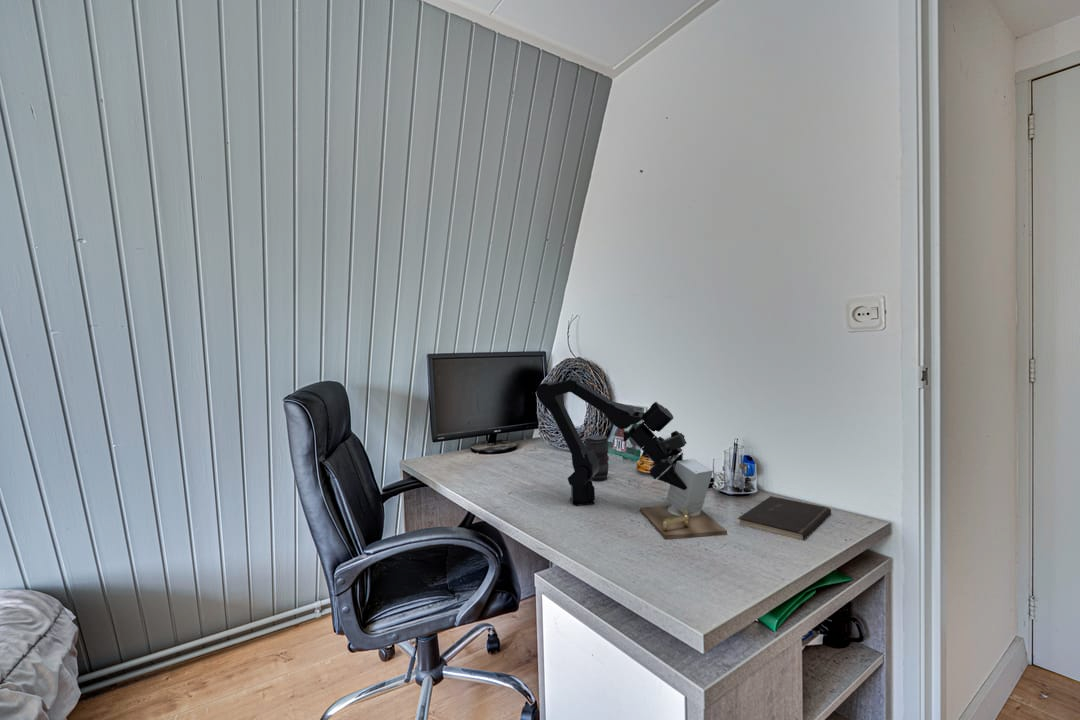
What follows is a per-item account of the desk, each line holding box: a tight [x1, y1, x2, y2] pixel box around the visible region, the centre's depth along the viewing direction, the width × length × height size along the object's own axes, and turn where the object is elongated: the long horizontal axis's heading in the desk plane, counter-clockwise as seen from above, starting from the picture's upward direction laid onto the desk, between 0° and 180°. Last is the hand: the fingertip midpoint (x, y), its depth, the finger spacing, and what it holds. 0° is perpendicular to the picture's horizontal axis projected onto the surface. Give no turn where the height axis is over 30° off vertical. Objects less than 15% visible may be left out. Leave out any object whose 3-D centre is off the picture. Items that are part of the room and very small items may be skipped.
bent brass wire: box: [663, 508, 689, 532], centre depth 127 cm, size 12×4×3 cm, turn 137°
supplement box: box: [665, 458, 714, 513], centre depth 136 cm, size 7×7×13 cm
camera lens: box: [584, 434, 609, 482], centre depth 174 cm, size 8×8×15 cm
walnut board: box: [639, 504, 728, 540], centre depth 132 cm, size 16×20×1 cm
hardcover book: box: [737, 495, 832, 541], centre depth 132 cm, size 16×23×2 cm
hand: (688, 484), depth 137 cm, fingers closed on supplement box, 9 cm apart
